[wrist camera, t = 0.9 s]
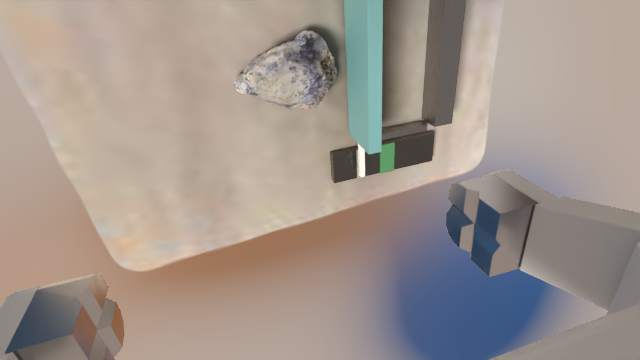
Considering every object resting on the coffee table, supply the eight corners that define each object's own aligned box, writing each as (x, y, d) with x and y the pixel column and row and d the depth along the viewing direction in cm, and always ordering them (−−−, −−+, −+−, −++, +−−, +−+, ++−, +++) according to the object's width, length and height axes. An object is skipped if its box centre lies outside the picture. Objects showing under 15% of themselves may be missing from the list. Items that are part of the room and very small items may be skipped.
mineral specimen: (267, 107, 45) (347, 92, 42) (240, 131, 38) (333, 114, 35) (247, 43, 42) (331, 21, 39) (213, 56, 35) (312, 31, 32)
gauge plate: (342, -36, 36) (366, -37, 31) (356, -38, 36) (383, -39, 31) (350, 169, 48) (369, 192, 43) (361, 167, 48) (381, 190, 43)
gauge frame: (315, -48, 35) (325, -50, 33) (454, -60, 38) (472, -62, 36) (331, 179, 48) (339, 190, 46) (434, 156, 51) (446, 165, 49)
